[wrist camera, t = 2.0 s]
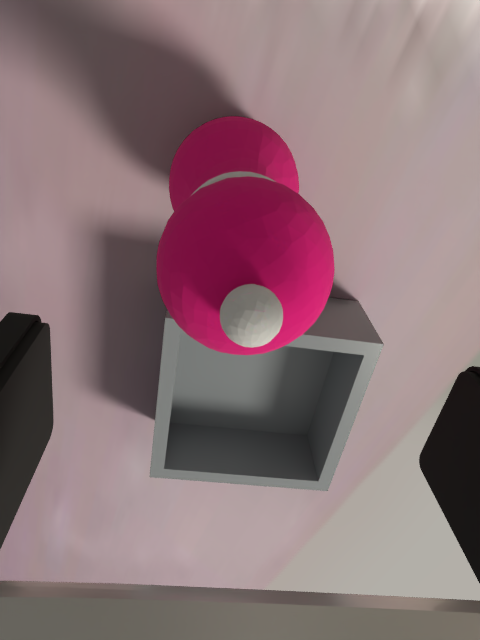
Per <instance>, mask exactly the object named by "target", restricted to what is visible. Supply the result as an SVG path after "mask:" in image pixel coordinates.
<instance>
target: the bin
mask: <svg viewBox="0 0 480 640" xmlns="http://www.w3.org/2000/svg"><path fill="white" fill-rule="evenodd" d="M383 345H384V344H383V342H382V341H381V339H380V337H379V335H378V334H377V332H376V330H375V329H374V327H373V325H372V323H371V322H370V320H369V318H368V317H367V315H366V313H365V311H364V310H363V308H362V306H361V305H360V303H359V301H353V300H346V299H338V298H330V297H328V300H327V302H326V305H325V307H324V309H323V311H322V312H321V314H320V316H319V317H318V319H317V320H316V322H315V323H314V324H313V325H312V326H311V327H310V328H309V329H308V330H307V331H306V332H305V333H304V334H303V335H301V336H300V337H298V338H297V339H295V340H294V341H292V342H291V343H289V344H287V345H285V346H283V347H281V348H279V349H276V350H273V351H270V352H267V353H264V354H255V355H233V354H228V353H222V352H218V351H215V350H213V349H210V348H208V347H206V346H204V345H203V344H201V343H199V342H198V341H196V340H194V339H193V338H191V337H190V336H189V335H187V334H186V333H185V332H184V331H183V330H182V329H181V328H180V327H179V326H178V324H177V323H176V322H175V320H174V319H173V318H172V316H171V315H170V313H169V311H168V310H167V311H166V316H165V325H164V335H163V345H162V356H161V366H160V376H159V386H158V396H157V406H156V417H155V427H154V437H153V447H152V457H151V467H150V477H155V478H168V479H180V480H193V481H206V482H218V483H231V484H244V485H257V486H269V487H282V488H295V489H307V490H320V491H328V489H329V486H330V483H331V481H332V478H333V475H334V473H335V470H336V468H337V465H338V462H339V460H340V457H341V455H342V452H343V449H344V447H345V444H346V441H347V439H348V436H349V434H350V431H351V428H352V426H353V423H354V421H355V418H356V415H357V413H358V410H359V407H360V405H361V402H362V400H363V397H364V394H365V392H366V389H367V387H368V384H369V381H370V379H371V376H372V374H373V371H374V368H375V366H376V363H377V360H378V358H379V355H380V353H381V350H382V347H383Z"/></svg>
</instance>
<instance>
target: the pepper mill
mask: <svg viewBox="0 0 480 640" xmlns="http://www.w3.org/2000/svg"><path fill="white" fill-rule="evenodd" d="M169 192H170V199H171V203H172V207H173V210H174V213H173V214H172V216H171V217H170V219H169V220H168V222H167V225H166V227H165V229H164V232H163V234H162V237H161V239H160V241H159V246H158V251H157V282H158V287H159V290H160V294H161V297H162V300H163V302H164V304H165V306H166V308H167V310H168V311H169V313H170V315H171V316H172V318H173V319H174V320H175V322H176V323H177V324H178V326H179V327H180V328H181V329H182V330H183V331H184V332H185V333H186V334H187V335H189V336H190V337H191V338H193V339H194V340H196V341H198V342H199V343H201V344H203V345H204V346H206V347H208V348H210V349H213V350H215V351H218V352H222V353H228V354H233V355H255V354H264V353H267V352H270V351H273V350H276V349H279V348H281V347H283V346H285V345H287V344H289V343H291V342H292V341H294V340H295V339H297V338H298V337H300V336H301V335H303V334H304V333H305V332H306V331H307V330H308V329H309V328H310V327H311V326H312V325H313V324H314V323H315V322H316V320H317V319H318V317H319V316H320V314H321V312H322V311H323V309H324V307H325V305H326V302H327V300H328V297H329V295H330V291H331V288H332V285H333V277H334V257H333V248H332V245H331V241H330V237H329V235H328V232H327V230H326V228H325V225H324V223H323V221H322V220H321V218H320V217H319V215H318V214H317V213H316V211H315V210H314V208H313V207H312V206H311V205H310V204H309V203H308V202H307V201H305V200H304V199H303V198H302V197H301V196H300V195H299V194H298V192H299V181H298V173H297V169H296V165H295V161H294V159H293V156H292V153H291V152H290V150H289V148H288V146H287V145H286V143H285V142H284V141H283V140H282V138H281V137H280V136H279V135H278V134H277V133H276V132H275V131H273V130H272V129H271V128H269V127H268V126H266V125H265V124H263V123H261V122H258V121H256V120H253V119H250V118H245V117H240V116H230V117H222V118H217V119H214V120H211V121H209V122H206V123H204V124H203V125H201V126H200V127H198V128H197V129H195V130H193V131H192V132H191V134H190V135H189V136H188V137H187V138H186V139H185V140H184V141H183V142H182V144H181V145H180V147H179V148H178V150H177V152H176V154H175V156H174V159H173V162H172V165H171V170H170V177H169Z"/></svg>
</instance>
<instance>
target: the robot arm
mask: <svg viewBox="0 0 480 640" xmlns="http://www.w3.org/2000/svg"><path fill="white" fill-rule="evenodd" d="M52 429H53V397H52V371H51V346H50V327H49V324H48V323H41V319H40V317H39V316H38V315H30V314H21V313H13V312H9V313H8V314H7V315H6V316H5V317H4V318H3V319H2V321H1V322H0V549H1V546H2V544H3V542H4V540H5V538H6V535H7V533H8V531H9V529H10V526H11V524H12V522H13V520H14V517H15V515H16V513H17V511H18V508H19V506H20V504H21V502H22V499H23V497H24V495H25V493H26V491H27V488H28V486H29V484H30V482H31V479H32V477H33V475H34V473H35V470H36V468H37V466H38V464H39V461H40V459H41V457H42V455H43V452H44V450H45V448H46V446H47V443H48V441H49V439H50V436H51V433H52ZM419 463H420V468H421V470H422V472H423V474H424V476H425V478H426V480H427V482H428V484H429V486H430V488H431V490H432V492H433V494H434V495H435V498H436V500H437V501H438V503H439V505H440V507H441V509H442V511H443V513H444V515H445V517H446V519H447V521H448V523H449V525H450V527H451V529H452V531H453V533H454V535H455V536H456V538H457V540H458V542H459V544H460V546H461V548H462V550H463V552H464V554H465V556H466V558H467V560H468V562H469V563H470V566H471V568H472V570H473V571H474V573H475V575H476V577H477V579H478V581H479V583H480V367H474V366H472V367H469V368H468V369H467V370H466V371H464V372H461V373H460V374H459V375H458V377H457V379H456V381H455V383H454V385H453V387H452V389H451V392H450V394H449V396H448V398H447V400H446V402H445V404H444V406H443V408H442V410H441V412H440V414H439V417H438V418H437V421H436V423H435V425H434V427H433V429H432V431H431V433H430V435H429V437H428V439H427V441H426V443H425V446H424V448H423V450H422V452H421V454H420V459H419ZM0 640H480V601H474V600H456V599H438V598H418V597H416V598H415V597H398V596H377V595H358V594H337V593H315V592H296V591H275V590H253V589H230V588H207V587H184V586H161V585H138V584H115V583H77V582H38V581H0Z"/></svg>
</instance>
